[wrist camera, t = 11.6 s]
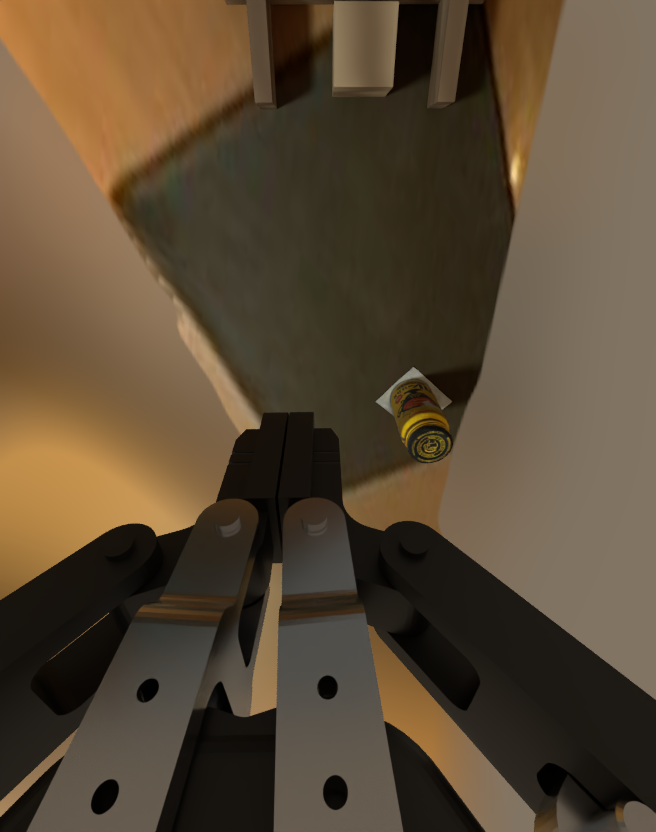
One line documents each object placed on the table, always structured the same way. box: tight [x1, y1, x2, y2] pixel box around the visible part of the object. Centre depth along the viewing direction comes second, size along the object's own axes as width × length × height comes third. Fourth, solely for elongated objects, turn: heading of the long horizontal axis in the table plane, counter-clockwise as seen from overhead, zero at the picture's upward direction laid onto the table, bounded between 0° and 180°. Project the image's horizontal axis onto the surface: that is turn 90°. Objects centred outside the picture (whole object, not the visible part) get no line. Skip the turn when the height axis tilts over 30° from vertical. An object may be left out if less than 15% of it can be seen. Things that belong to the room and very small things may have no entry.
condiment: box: [376, 367, 453, 463], centre depth 49 cm, size 7×8×12 cm
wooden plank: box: [225, 0, 485, 109], centre depth 31 cm, size 22×9×5 cm, turn 90°
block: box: [332, 1, 399, 97], centre depth 32 cm, size 5×5×5 cm
